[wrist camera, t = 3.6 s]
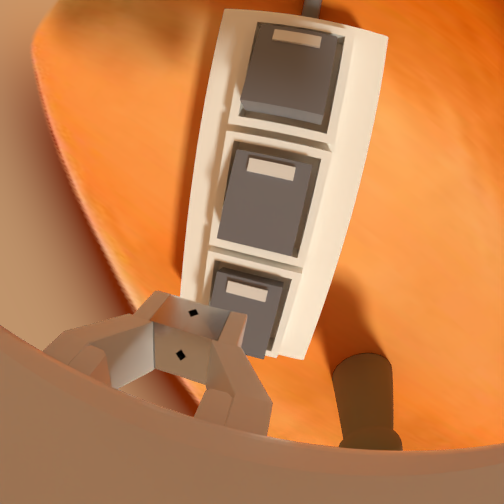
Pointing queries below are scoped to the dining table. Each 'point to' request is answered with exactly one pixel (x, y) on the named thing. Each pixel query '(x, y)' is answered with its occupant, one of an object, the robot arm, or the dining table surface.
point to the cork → (366, 403)
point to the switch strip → (288, 147)
